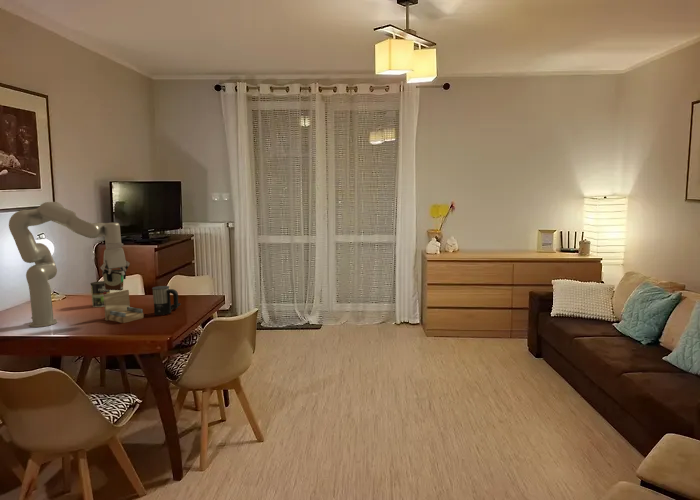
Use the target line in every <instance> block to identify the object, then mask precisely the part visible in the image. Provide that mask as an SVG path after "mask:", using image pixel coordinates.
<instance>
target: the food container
mask: <svg viewBox="0 0 700 500" xmlns="http://www.w3.org/2000/svg"><path fill="white" fill-rule="evenodd" d="M101 271H102V272H101V276H102V278H103V281H104V285H105V290H110V291H118V292H119V291H124V279H123V278H124V275H125V273H124V270H121V269H112V270H111V273H110V274H112V282H109V281H108V280H107V274H106V273H105V272H104V271H103V270H101Z"/></svg>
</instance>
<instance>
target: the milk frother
mask: <svg viewBox="0 0 700 500" xmlns="http://www.w3.org/2000/svg"><path fill="white" fill-rule="evenodd" d="M151 289H152V297H153V298H152V299H153V311H154V312H153V314H154V315H155V316H156V315H157V316H161V315H162V316H163V315H168V314H169V315H170V314H171V313H172V310H174V309H175V310H176V309H178V308H179V307H180V306H181V305H182V304H181V303H180V302H179V293H178V291H177V290H176V289H173V288H170V286H169V285H157V286H153V287H152V288H151ZM171 294H172V296H173V303H171V302H172V301H171Z"/></svg>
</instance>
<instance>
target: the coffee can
mask: <svg viewBox="0 0 700 500" xmlns="http://www.w3.org/2000/svg"><path fill="white" fill-rule="evenodd" d="M90 290H91V291H90V292H91V303H92V307H93V308H102V307H103V308H104V296H103V294H108V293H111V290H105V285H104V280H102V281H101V280H100V281H99V280H98V281H94V282H90Z"/></svg>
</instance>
